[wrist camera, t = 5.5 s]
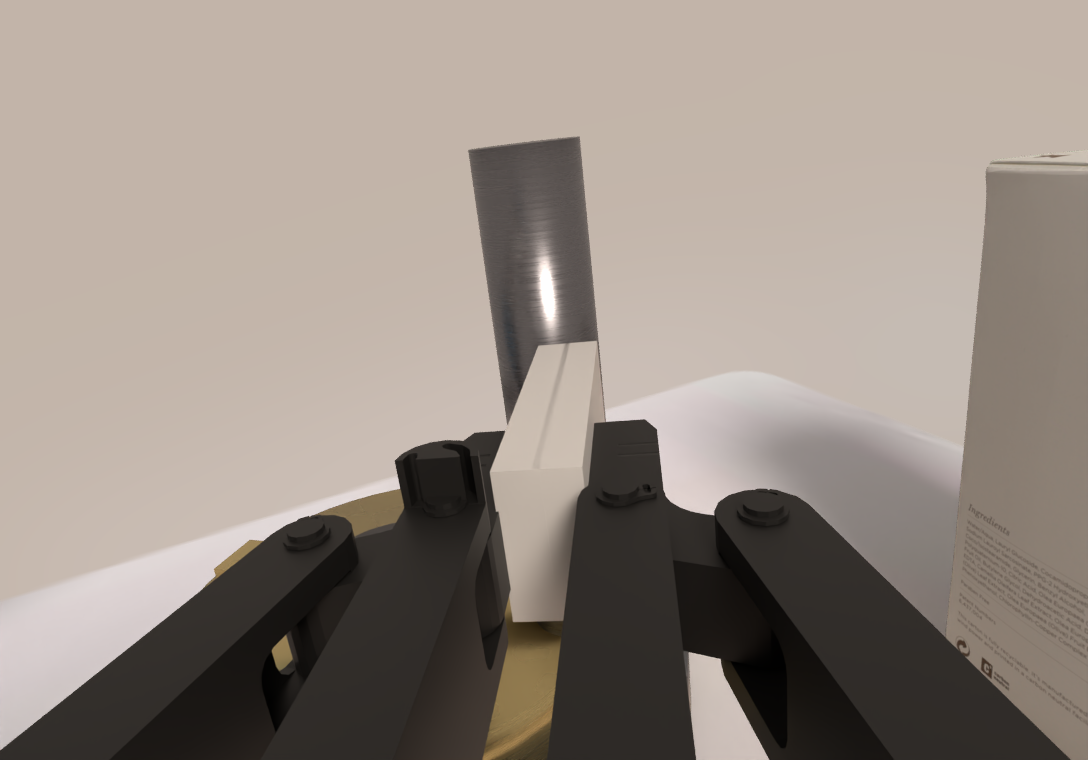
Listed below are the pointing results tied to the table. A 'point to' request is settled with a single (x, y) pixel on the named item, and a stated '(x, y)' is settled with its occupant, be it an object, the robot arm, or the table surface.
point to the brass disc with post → (515, 379)
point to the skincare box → (1029, 450)
